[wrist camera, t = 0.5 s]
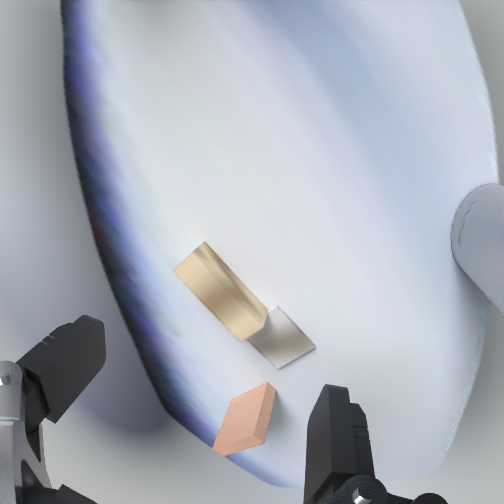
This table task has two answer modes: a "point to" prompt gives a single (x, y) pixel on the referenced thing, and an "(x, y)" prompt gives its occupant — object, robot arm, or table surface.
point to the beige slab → (242, 308)
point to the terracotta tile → (246, 420)
